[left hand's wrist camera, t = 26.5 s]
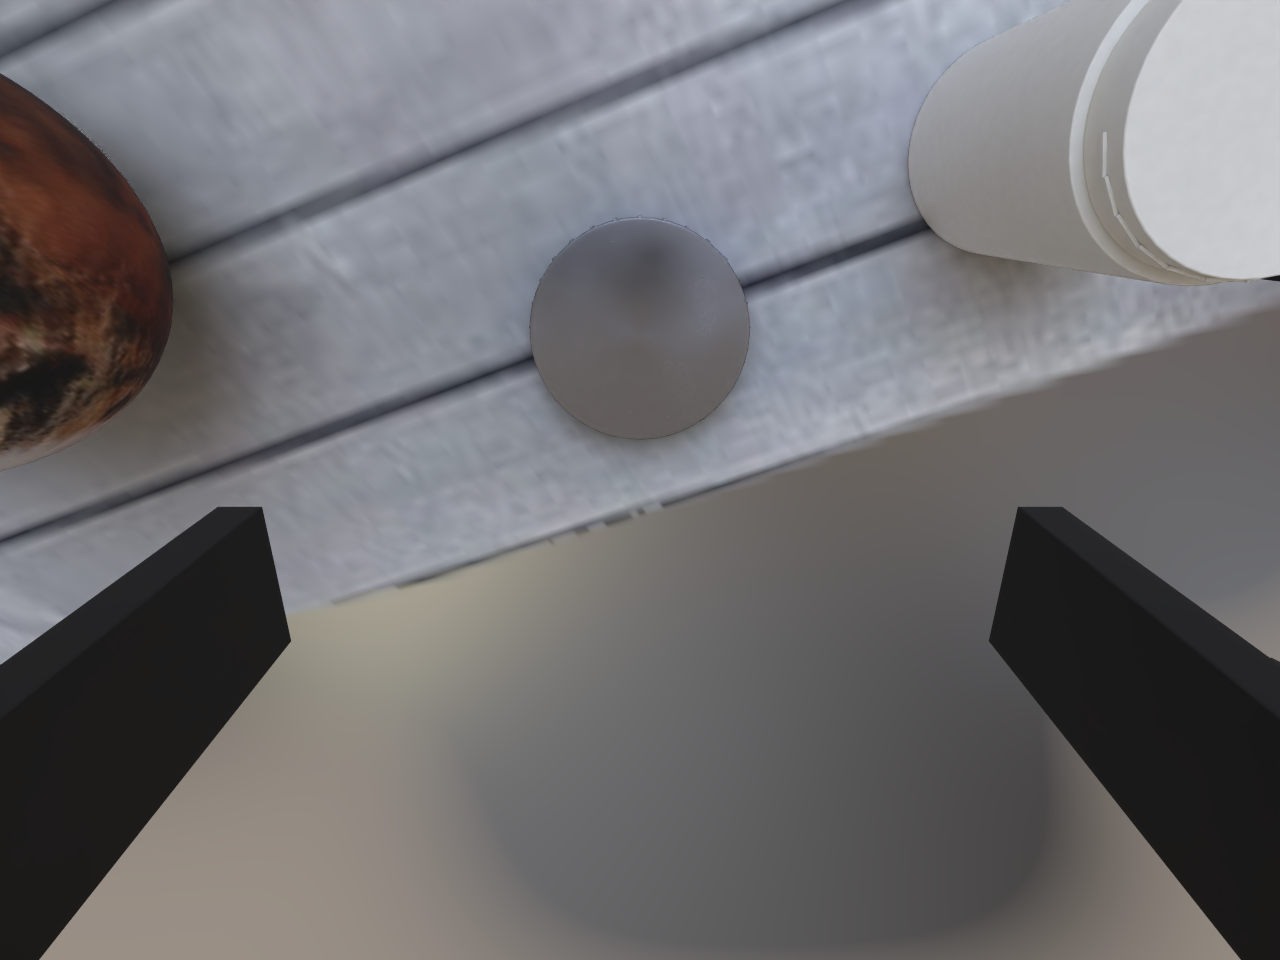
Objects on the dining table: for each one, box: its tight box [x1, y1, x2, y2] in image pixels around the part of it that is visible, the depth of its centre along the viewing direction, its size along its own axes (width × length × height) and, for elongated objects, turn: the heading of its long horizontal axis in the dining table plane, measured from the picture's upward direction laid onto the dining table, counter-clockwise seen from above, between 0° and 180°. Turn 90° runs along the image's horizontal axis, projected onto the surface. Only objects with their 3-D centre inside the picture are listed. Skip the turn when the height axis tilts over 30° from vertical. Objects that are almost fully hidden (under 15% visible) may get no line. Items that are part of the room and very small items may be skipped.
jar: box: [908, 0, 1280, 286], centre depth 27 cm, size 10×10×16 cm
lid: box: [530, 215, 750, 439], centre depth 36 cm, size 11×11×2 cm
